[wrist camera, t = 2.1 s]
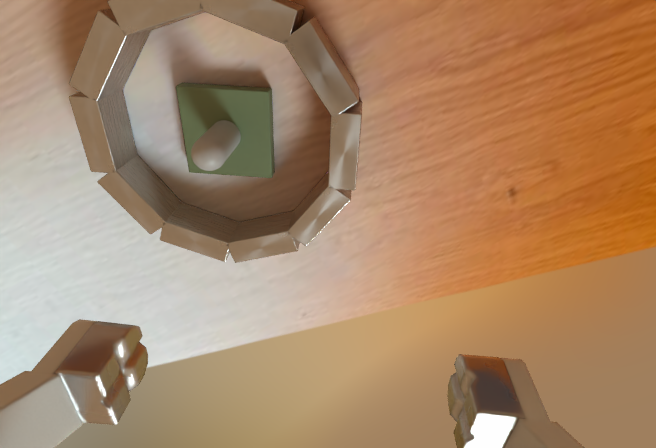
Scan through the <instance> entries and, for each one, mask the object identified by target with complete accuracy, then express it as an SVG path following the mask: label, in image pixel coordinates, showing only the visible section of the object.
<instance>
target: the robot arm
mask: <svg viewBox="0 0 656 448" xmlns="http://www.w3.org/2000/svg"><path fill="white" fill-rule="evenodd" d="M141 337H142V333H141V330H140V327H139V326H134V325H126V324H117V323H109V322H100V321H89V320H80V319H79V320H78V321H76V322H74V323H72V324H71V326H70V327H69V328H68V329H67V330H66V331H65V333H64V334H63V335H62V336H61V337H60V338H59V340H58V341H57V342H56V343H55V344H54V345H53V347H52V348H51V349H50V350H49V351H48V352H47V354H46V355H45V356H44V357H43V358H42V359H41V361H40V362H39V363H38V364H37V365H36V366H35V368H34V369H33V370H32V371H24V372H22V373H21V374H19V375H17V376H15V377H13V378H12V379H10V380H8V381H6V382H4V383H2V384H1V385H0V448H54V447H56V446H57V445H58V444H59V443H61V442H62V441H63V440H64V439H65V438H67V437H68V436H69V435H70V434H72V433H73V432H74V431H75V430H76V429H78V428H79V427H80V426H81V425H82V422H83V423H97V424H98V423H99V424H112V425H117V423H118V422H119V420H120V418H121V416H122V414H123V413H124V411H125V409H126V407H127V405H128V404H129V402H130V395H129V391H131V390H132V389H133V388H135V387H136V386H138V385H139V384H140V382H141V380H142V378H143V376H144V375H145V371H146V367H147V364H148V354H147V350H146V347H145V346H143V345H142V344H141V343H140V342H139V341H140V339H141ZM454 365H455V369H456V373H455V374H453V375H451V377H450V380H449V384H448V406H449V411H450V415H451V416H452V417H453V418H454V420H455V421H456V422H457V424H456V427H455V430H454V436H455V441H456V445H457V448H584V447H583V446H582V445H581V444H580V443H579V442H578V441H577V440H576V439H574V438H573V437H572V436H571V435H570V434H569V433H568V432H567V431H566V430H565V429H563V427H561V426H560V425H559V424H558V423H557V422H551V421H550V420H549V417H548V415H547V413H546V410H545V408H544V406H543V403H542V401H541V399H540V397H539V394H538V392H537V390H536V387H535V385H534V383H533V380H532V378H531V376H530V373H529V371H528V369H527V367H526V364H525V363H524V362H523V361H522V360H520V359H508V358H498V357H486V356H475V355H462V354H460V355H458V357H457V358H456V361H455V364H454Z"/></svg>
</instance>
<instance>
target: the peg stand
mask: <svg viewBox="0 0 656 448" xmlns="http://www.w3.org/2000/svg"><path fill="white" fill-rule="evenodd" d="M176 90H177V97H178V103H179V110H180V116H181V122H182V129H183V135H184V141H185V148H186V154H187V161H188V167H189V172H193V173H208V174H222V175H236V176H251V177H265V178H272V176H273V174H274V172H275V171H274V142H273V112H272V89H271V88H262V87H245V86H228V85H211V84H195V83H181V84H179V85H177V86H176Z"/></svg>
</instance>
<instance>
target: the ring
mask: <svg viewBox="0 0 656 448" xmlns="http://www.w3.org/2000/svg"><path fill="white" fill-rule="evenodd" d="M108 4H109V6H110V8H111V9H107V10H99V11H98V13H97V15H96V18H95V20H94V23H93V25H92V28H91V30H90V32H89V35H88V37H87V40H86V42H85V45H84V47H83V50H82V52H81V55H80V57H79V60H78V62H77V65H76V67H75V70H74V72H73V75H72V77H71V80H70V82H69V84H70V85H71V86H72V87H74V88H75V89H77V90H78V91H80V92H79V93H76V94H74V95H71V96H69V100H70V103H71V106H72V110H73V113H74V116H75V120H76V123H77V126H78V130H79V133H80V136H81V140H82V143H83V147H84V150H85V153H86V157H87V160H88V163H89V167H90V170H91V172H104V173H108V174H106V175H105V176H104V177H102V178H101V179H100V180H98V181H97V182H98V183H99V184H100V185H101V186H102V187H103V188H104V189H105V190H106V191H107V192H108V193H109V194H110V195H111V196H112V197H113V198H114V199H115V200H116V201H117V202H118V203H119V204H120V205H121V206H122V207H123V208H124V209H125V210H126V211H127V212H128V213H129V214H130V215H131V216H132V217H133V218H134V219H135V220H136V221H137V222H138V223H139V224H140V225H141V226H142V227H143V228H144V229H145V230H146V231H147V232H148V233H149V234H152V233H154V232H155V231H157V230H158V229H160V228H162V231H161V237H160V240H161V241H164V242H167V243H170V244H173V245H176V246H179V247H182V248H185V249H188V250H191V251H194V252H197V253H200V254H203V255H206V256H209V257H212V258H215V259H218V260H221V261H224V262H225V261H226V259H227V257H228V255H229V253H231V255H232V257H233V259H234V261H235V263H236V262H242V261H247V260H252V259H258V258H263V257H268V256H274V255H279V254H284V253H290V252H295V251H298V248H299V244H300V243H302V244H303V245H305V246H307V245H308V244H309V243H310V242H311V241H312V240H313V239H314V238H315V237H316V236H317V235H318V234H319V233H320V232H321V231H322V230H323V229H324V228H325V227H326V225H327V224H328V223H329V222H330V221H331V220H332V219H333V218H334V217H335V216H336V215H337V214H338V213H339V212H340V211H341V210H342V209H343V208H344V207H345V206H346V205H347V204H348V203H349V201H350V200H351V190H356V179H357V167H358V155H359V143H360V131H361V119H362V101H359V88H358V86H357V85H356V83H355V81H354V80H353V78H352V76H351V75H350V73H349V71H348V70H347V68H346V67H345V65H344V63H343V62H342V60H341V58H340V57H339V55H338V53H337V52H336V50H335V48H334V47H333V45H332V43H331V42H330V40H329V38H328V37H327V35H326V33H325V32H324V30H323V28H322V27H321V25H320V23H319V22H318V20H317V18H316V17H313V18H312V19H311V20H309V21H308V22H307V23H305V24H304V25H303V26H301V27H300V28H299V26H300V22H301V19H302V16H303V12H304V9H305V7H303V6H301V5H299V4H296V3H294V2H291V1H289V0H108ZM204 12H207V13H209V14H212V15H214V16H217V17H219V18H222V19H224V20H227V21H229V22H231V23H234V24H236V25H239V26H241V27H244V28H246V29H249V30H251V31H254V32H256V33H258V34H261V35H263V36H266V37H268V38H271V39H273V40H276V41H278V42H280V43H283V44H285V46H286V47H287V49H288V50H289V52H290V53H291V55H292V56H293V58H294V59H295V61H296V63H297V64H298V66H299V67H300V69H301V70H302V72H303V73H304V75H305V76H306V78H307V79H308V81H309V82H310V84H311V85H312V87H313V88H314V90H315V91H316V93H317V95H318V96H319V98H320V99H321V101H322V102H323V104H324V105H325V107H326V108H327V110H328V111H329V113H330V114H331V131H330V154H329V171H328V172H327V174H326V175H325V176H324V177H323V178H322V179H321V180H320V182H319V183H318V184H317V185H316V186H315V187H314V188H313V189H312V191H311V192H310V193H309V194H308V195H307V196H306V197H305V199H304V200H303V201H302V202H301V203H300V204H299V205H298V207H297V208H296V209H295V210H294V211H290V212H285V213H281V214H276V215H271V216H266V217H262V218H257V219H252V220H247V221H243V222H237V221H234V220H231V219H228V218H225V217H222V216H220V215H217V214H214V213H211V212H208V211H205V210H202V209H199V208H196V207H194V206H191V205H188V204H185V203H182V202H181V201H180V200H179V199H178V198H177V197H176V196H175V195H174V193H173V192H172V191H171V190H170V189H169V188H168V187H167V186H166V185H165V184H164V183H163V182H162V181H161V179H160V178H159V177H158V176H157V175H156V174H155V173H154V172H153V171H152V170H151V169H150V168H149V167H148V165H147V164H146V163H145V162H144V161H143V160H142V159H141V158H140V157H139V156H138V155H137V151H136V147H135V143H134V138H133V134H132V129H131V125H130V120H129V116H128V112H127V107H126V103H125V98H124V94H123V88H124V85H125V83H126V81H127V79H128V77H129V75H130V73H131V71H132V69H133V67H134V65H135V63H136V61H137V58H138V56H139V54H140V52H141V50H142V48H143V46H144V44H145V42H146V40H147V38H148V36H149V33H150V31H151V30H153V29H156V28H159V27H162V26H165V25H168V24H171V23H174V22H177V21H180V20H183V19H186V18H189V17H192V16H195V15H198V14H201V13H204Z"/></svg>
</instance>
